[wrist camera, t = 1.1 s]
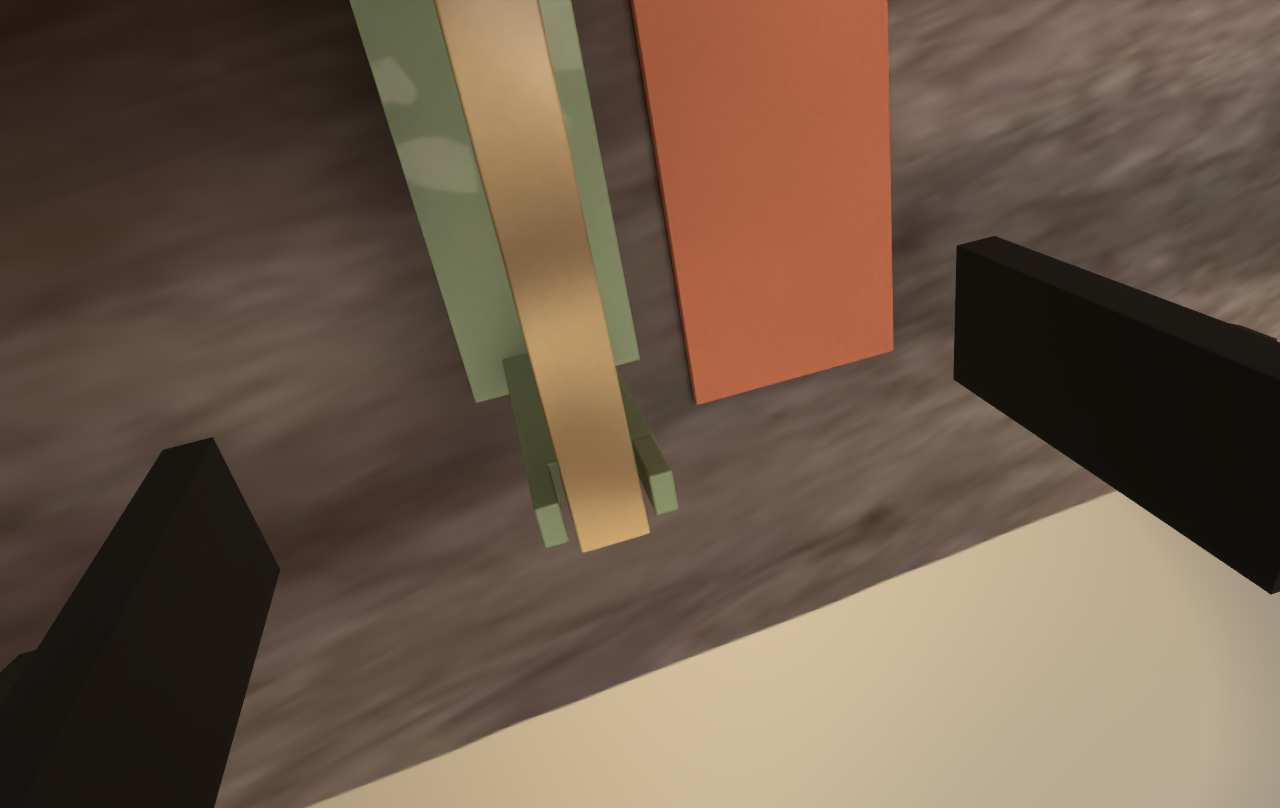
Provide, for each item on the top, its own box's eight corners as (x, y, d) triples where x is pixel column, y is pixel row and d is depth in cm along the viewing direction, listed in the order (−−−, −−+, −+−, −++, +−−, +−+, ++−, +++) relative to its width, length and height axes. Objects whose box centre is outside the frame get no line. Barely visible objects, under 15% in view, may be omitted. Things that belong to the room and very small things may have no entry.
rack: (310, -131, 27) (217, -250, 15) (534, -169, 28) (610, -307, 16) (474, 394, 37) (496, 569, 25) (635, 352, 38) (728, 500, 26)
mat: (603, -163, 28) (606, -167, 28) (876, -210, 30) (884, -214, 29) (693, 400, 40) (696, 405, 39) (888, 346, 41) (894, 350, 41)
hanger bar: (362, -263, 17) (353, -301, 15) (467, -278, 18) (472, -319, 16) (570, 514, 28) (582, 554, 26) (634, 495, 28) (650, 534, 26)
